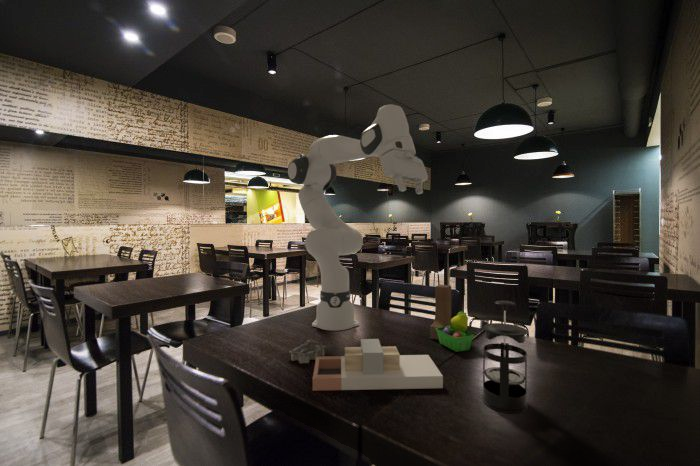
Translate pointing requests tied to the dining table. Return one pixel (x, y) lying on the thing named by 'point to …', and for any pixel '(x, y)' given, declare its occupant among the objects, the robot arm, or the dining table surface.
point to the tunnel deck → (376, 372)
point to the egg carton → (302, 351)
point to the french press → (505, 368)
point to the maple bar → (356, 358)
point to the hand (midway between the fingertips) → (411, 192)
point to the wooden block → (441, 309)
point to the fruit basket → (456, 334)
